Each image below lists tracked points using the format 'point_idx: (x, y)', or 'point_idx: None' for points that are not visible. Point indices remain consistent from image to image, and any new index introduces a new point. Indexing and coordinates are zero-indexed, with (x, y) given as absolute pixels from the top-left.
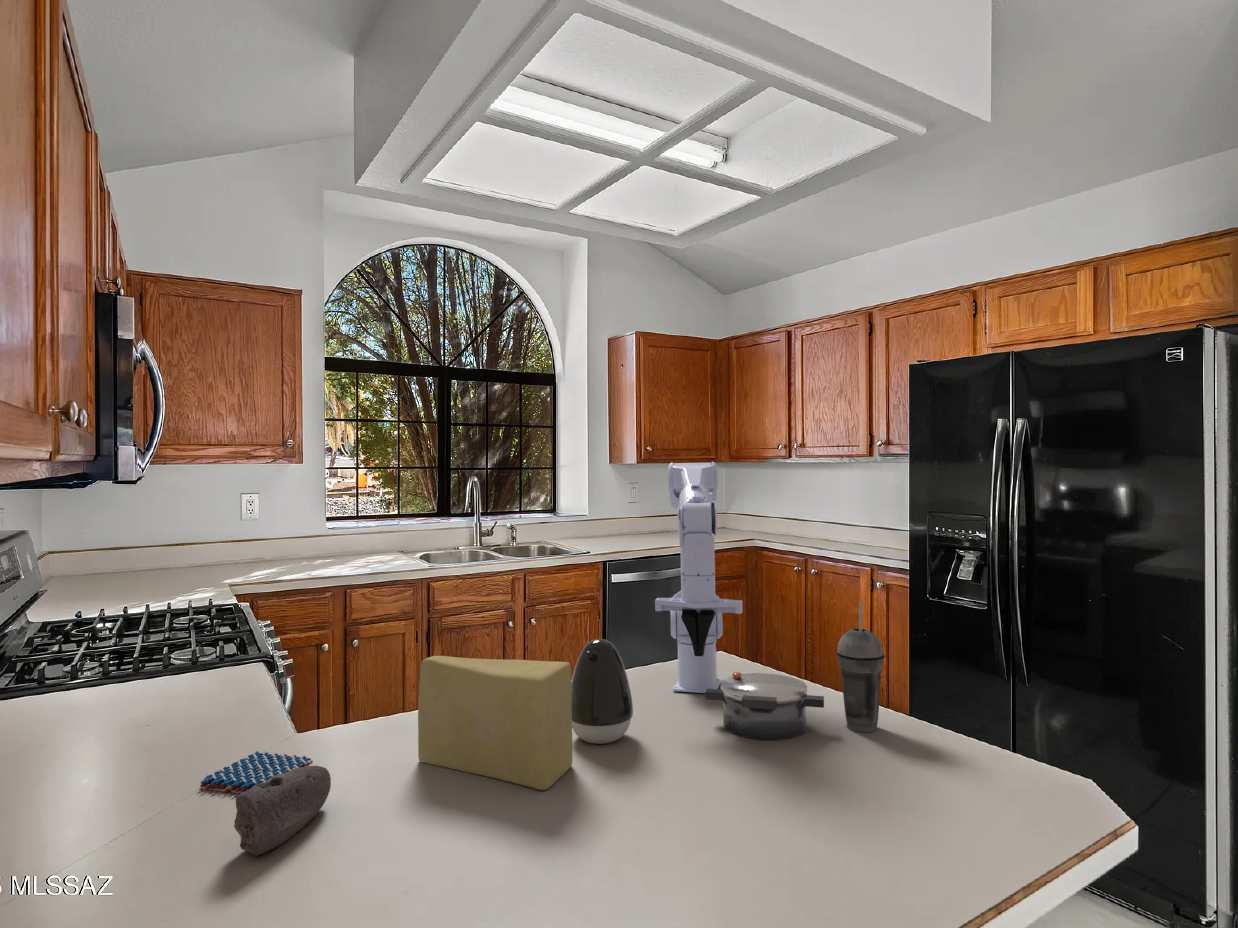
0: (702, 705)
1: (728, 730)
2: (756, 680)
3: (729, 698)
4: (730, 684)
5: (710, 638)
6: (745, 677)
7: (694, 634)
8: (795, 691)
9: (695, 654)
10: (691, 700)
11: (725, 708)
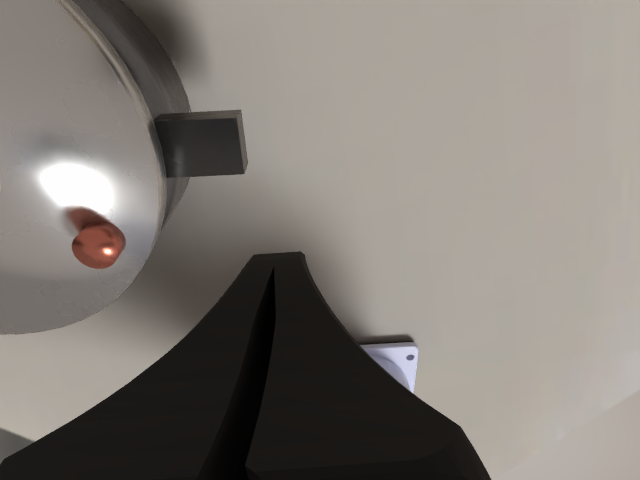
0: (307, 258)
1: (143, 24)
2: (2, 228)
3: None
4: (88, 127)
5: None
6: (75, 260)
7: (290, 332)
8: None
9: (295, 255)
10: (349, 290)
11: (135, 53)
